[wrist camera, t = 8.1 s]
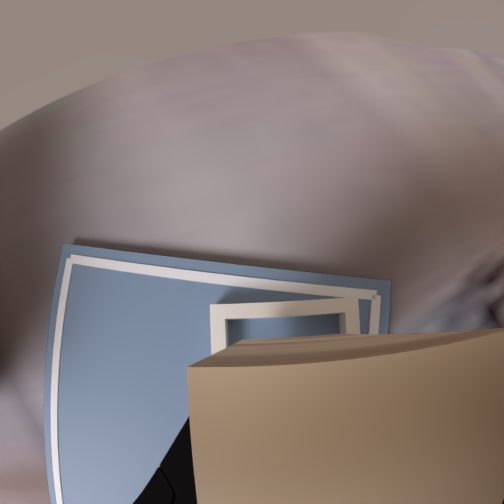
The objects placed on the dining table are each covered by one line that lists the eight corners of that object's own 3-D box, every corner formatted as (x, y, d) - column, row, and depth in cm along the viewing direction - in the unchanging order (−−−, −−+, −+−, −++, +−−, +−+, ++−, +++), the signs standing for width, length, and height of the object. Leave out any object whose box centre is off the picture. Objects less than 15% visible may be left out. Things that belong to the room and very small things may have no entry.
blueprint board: (385, 282, 20) (391, 280, 19) (332, 561, 15) (335, 568, 14) (70, 246, 21) (62, 242, 20) (58, 508, 16) (51, 513, 15)
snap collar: (354, 428, 17) (361, 436, 15) (219, 438, 17) (216, 447, 15) (350, 299, 19) (357, 296, 17) (213, 306, 19) (209, 304, 17)
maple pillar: (338, 422, 14) (480, 562, 2) (246, 428, 14) (217, 619, 2) (336, 334, 15) (522, 326, 3) (242, 339, 15) (186, 366, 3)
